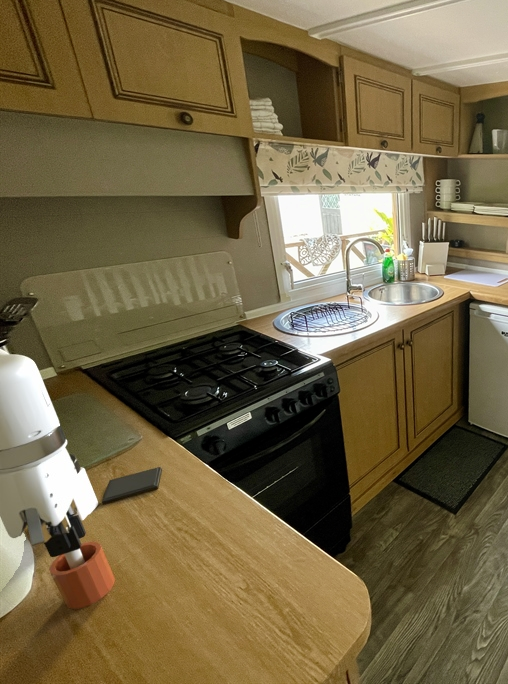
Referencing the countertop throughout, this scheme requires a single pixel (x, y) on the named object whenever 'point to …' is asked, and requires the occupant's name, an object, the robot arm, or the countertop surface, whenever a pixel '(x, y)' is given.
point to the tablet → (132, 485)
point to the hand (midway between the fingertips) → (69, 545)
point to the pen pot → (83, 577)
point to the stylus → (74, 556)
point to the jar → (83, 492)
